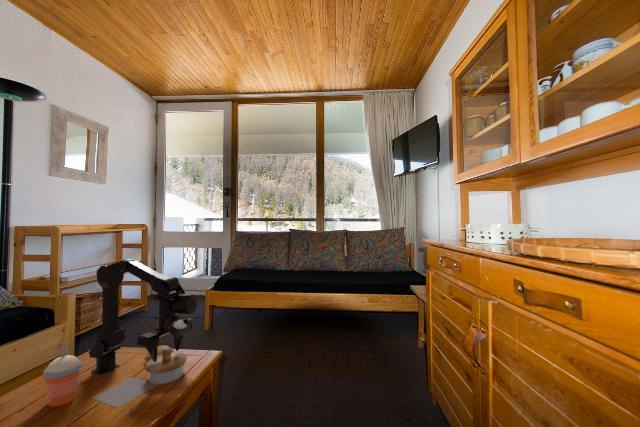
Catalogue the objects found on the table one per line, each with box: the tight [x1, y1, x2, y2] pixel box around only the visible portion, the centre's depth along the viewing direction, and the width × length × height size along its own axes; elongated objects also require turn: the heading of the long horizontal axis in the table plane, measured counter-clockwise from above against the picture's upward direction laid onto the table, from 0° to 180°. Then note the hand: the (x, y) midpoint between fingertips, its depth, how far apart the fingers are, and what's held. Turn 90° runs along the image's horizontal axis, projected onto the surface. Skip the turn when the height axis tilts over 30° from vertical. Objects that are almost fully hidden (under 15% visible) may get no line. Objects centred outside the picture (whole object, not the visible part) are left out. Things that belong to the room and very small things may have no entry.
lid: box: [145, 347, 187, 373], centre depth 103 cm, size 13×13×5 cm
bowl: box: [147, 364, 185, 385], centre depth 103 cm, size 11×11×4 cm
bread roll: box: [143, 345, 175, 364], centre depth 114 cm, size 10×10×8 cm
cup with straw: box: [42, 341, 83, 408], centre depth 89 cm, size 9×9×18 cm
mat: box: [91, 376, 158, 409], centre depth 93 cm, size 13×13×1 cm
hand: (166, 355), depth 103 cm, fingers open, 9 cm apart
